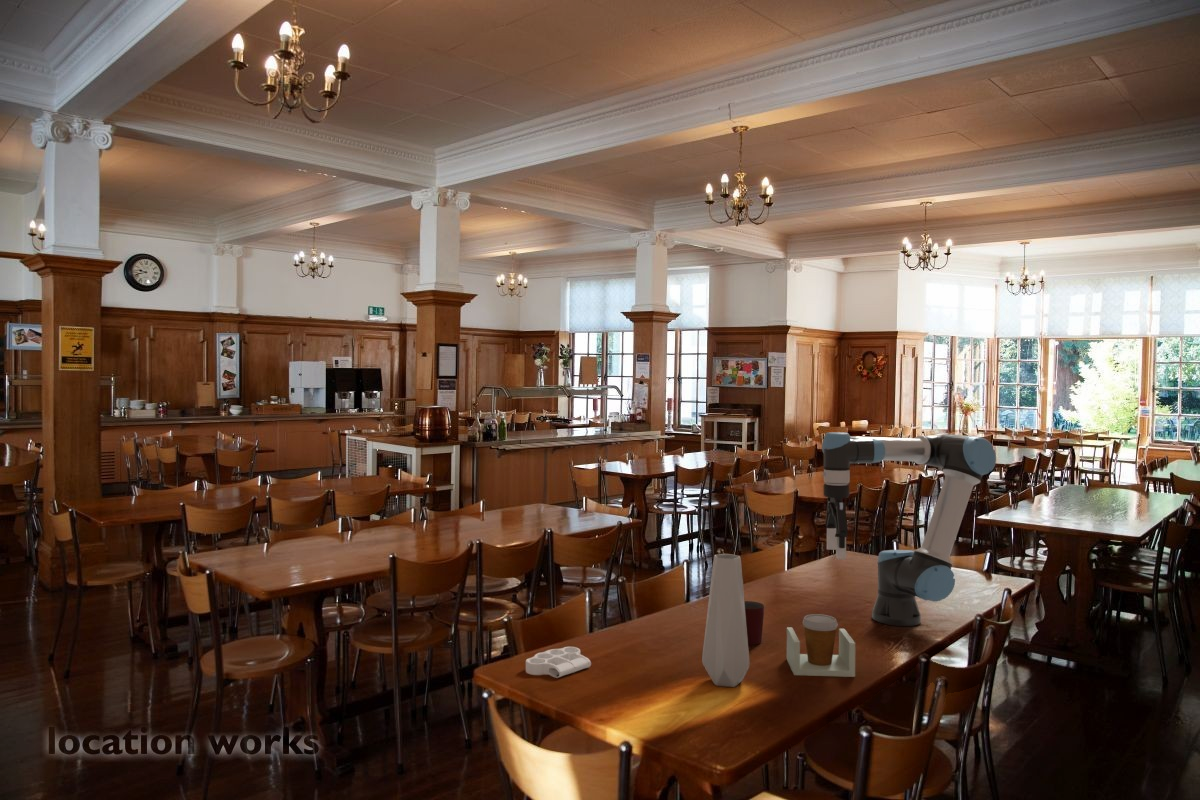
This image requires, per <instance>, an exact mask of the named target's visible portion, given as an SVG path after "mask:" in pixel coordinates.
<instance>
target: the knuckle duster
mask: <svg viewBox="0 0 1200 800" xmlns="http://www.w3.org/2000/svg"><path fill="white" fill-rule="evenodd" d="M591 665H592V662H591V660H590V659H589V658H588V657H587V656H584V655H583V654H581V649H580V648H578V647H576V646H564V647H561V648H552V649H547V650H545V651H541V652H537V653H536V654H534V656H532V657H529V658H526V660H525V673H526V674H529V675H532V676H542V675H549V676H550V677H553V678H556V679H558V678H562V677H564V676H566V675H570V674H574V673H576V672H579V671H581V670H585V669H588V668H590V667H591Z"/></svg>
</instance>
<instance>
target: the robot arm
mask: <svg viewBox="0 0 1200 800" xmlns="http://www.w3.org/2000/svg"><path fill="white" fill-rule="evenodd" d="M821 451H822V453H823V472H821V476H823V482H824V484H823V496H824V497H826V499H827V504H826V515H825V520H824V521H825V522H824V524H825V526H826V550H829V551H830V550H832V551H833V550H835V558H836V560H846V559H847V537H848V536H849V530H848V521H847V519H848V518H847V510H846V507H847V506H846V505H847V503H846V502H843V499H844V498H845V499H846V498H849V497H850V485H849V483H850V482H851V480H850V479H851V476H850V473H851V472H850V470H851V469H850V468H851V464H874V463H881V462H884V461H889V462H891V461H892V462H893V461H894V462H914V463H915V464H917V465H922V466H930V467H936V468H939V469H942V473H943V475H944V480H943V483H942V486H941V489H940V492H939V494H938V497H937V501H936V504H935V507H934V509H933V511H932V515H931V518H930V521H929V524H928V527H927V529H926V530H927V531H926V533H925V535H924V539H923V542H922V544H921V546H920V547H919V548H916V549H915V550H912V549H889V550H888V549H887V550H882V551H880V552H879V553H878V557H877V558H878V559H877V597H876V599H875V602H874V606H873V608H872V611H871V615H872V616H871V618H872V619H873V621H876V622H877V623H881V624H884V625H888V626H897V627H913V626H919V625H920V624H921V622H922V617H921V616H922V615H921V611H920V609H919V605H918V603H917V599H916V597H918V598H919V599H920V600H924V601H929V602H935V603H937V602H940V601H942V600H945V599H946V598H948V597H949V596H950V595H951V593H952V592H953V590H954V588H955V584H956V578H955V573H954V571H953V570H952V568H953V562H952V560H951V558H950V556H951V553H952V550H953V547H954V545H955V542H956V538H957V535H958V533H959V530H960V527H961V524H962V520H963V518H964V515H965V512H966V509H967V506H968V504H969V503H968V502H969V500H970V498H971V495H972V492H973V489H974V486H976V485H978V484H981V481H982V478H983V476H984V475H988V474H989V473H990V472H992V471H994V468H995V466H996V463H997V453H996V450H995V449H994V445H993V444H992V443H991V442H990V441H989V440H988V439H987V438H984V437H982V436H977V435H962V434H951V433H950V434H945V433H944V434H935V435H918V436H916V437H914V438H910V437H883V436H882V437H881V436H880V437H877V436H851V435H850V434H849V433H848V432H843V431H841V432H839V431H838V432H836V431H834V432H833V431H831V432H826V433H825V434H824V438H823V441H822V443H821Z"/></svg>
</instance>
